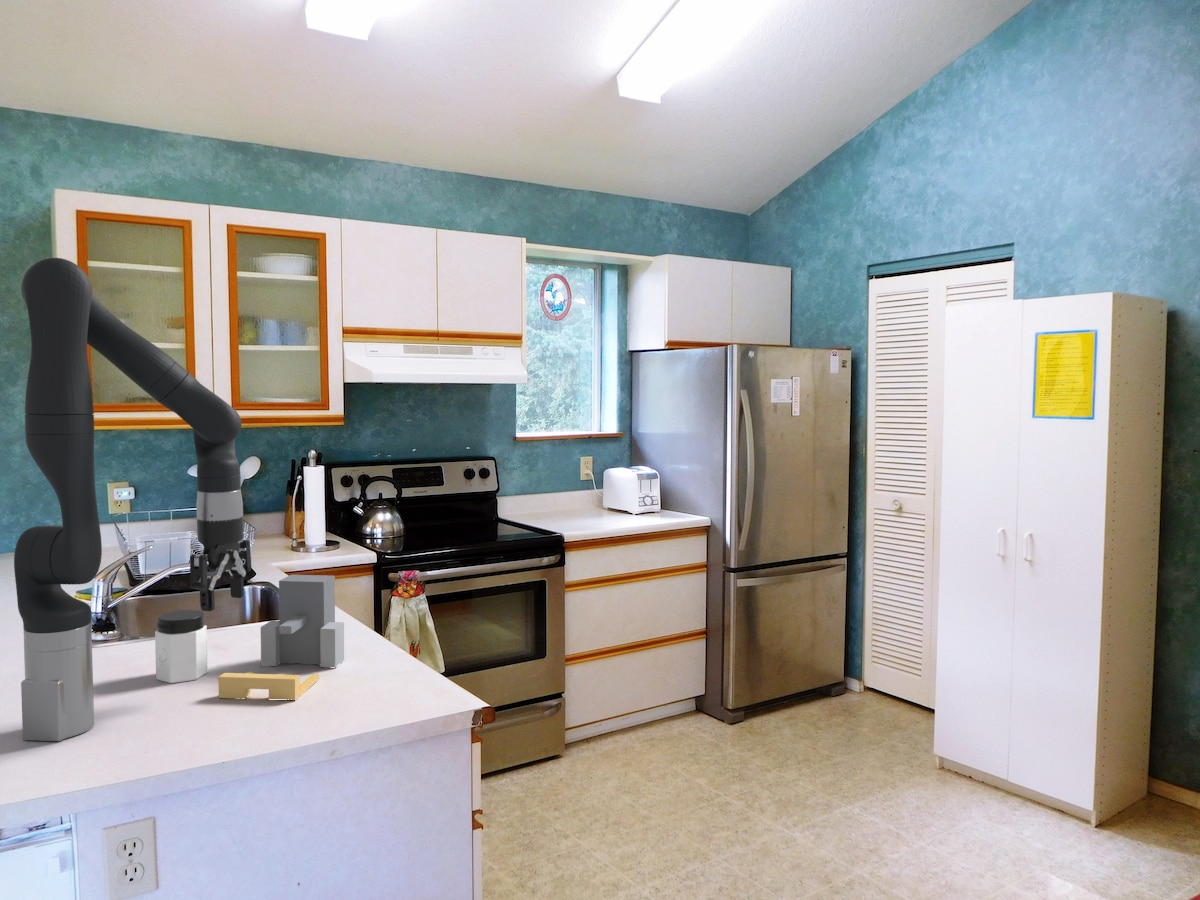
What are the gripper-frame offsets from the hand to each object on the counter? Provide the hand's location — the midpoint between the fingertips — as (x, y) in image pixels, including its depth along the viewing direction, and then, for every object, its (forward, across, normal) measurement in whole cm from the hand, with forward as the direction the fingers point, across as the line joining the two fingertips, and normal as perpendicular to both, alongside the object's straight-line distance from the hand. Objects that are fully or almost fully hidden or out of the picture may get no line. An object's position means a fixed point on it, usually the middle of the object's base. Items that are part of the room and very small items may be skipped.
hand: (223, 603), depth 152 cm
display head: (+18, +18, -5) cm, 25 cm away
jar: (+18, +7, +14) cm, 24 cm away
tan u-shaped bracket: (+17, +4, -6) cm, 19 cm away
